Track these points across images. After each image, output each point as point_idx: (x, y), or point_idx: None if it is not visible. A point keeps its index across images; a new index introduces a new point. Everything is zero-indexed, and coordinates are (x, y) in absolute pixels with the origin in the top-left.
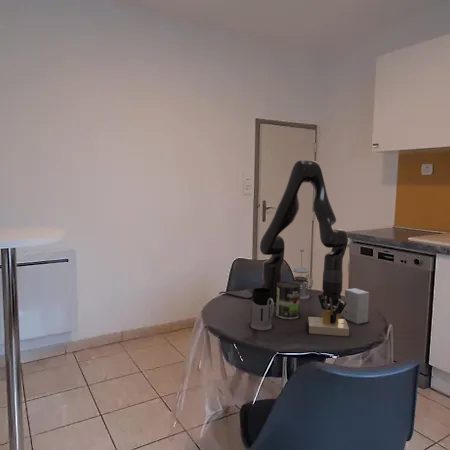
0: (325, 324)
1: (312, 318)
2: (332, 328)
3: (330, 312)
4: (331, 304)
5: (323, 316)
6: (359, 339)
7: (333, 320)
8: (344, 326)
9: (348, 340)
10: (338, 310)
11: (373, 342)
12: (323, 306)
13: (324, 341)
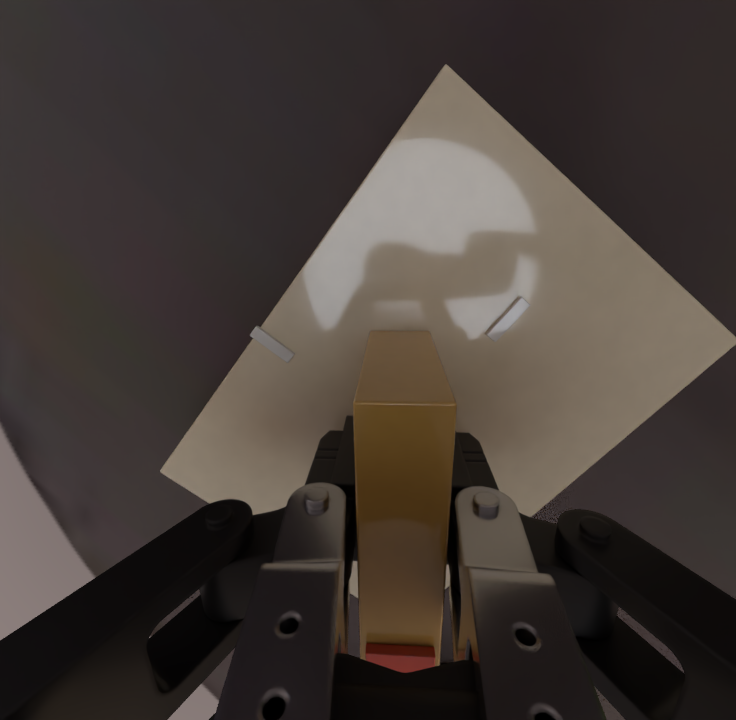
0: (369, 332)
1: (643, 343)
2: (255, 335)
3: (358, 501)
4: (258, 671)
5: (415, 361)
6: (119, 455)
7: (321, 446)
8: (234, 480)
9: (123, 359)
10: (97, 581)
11: (41, 498)
12: (592, 562)
13: (165, 106)
